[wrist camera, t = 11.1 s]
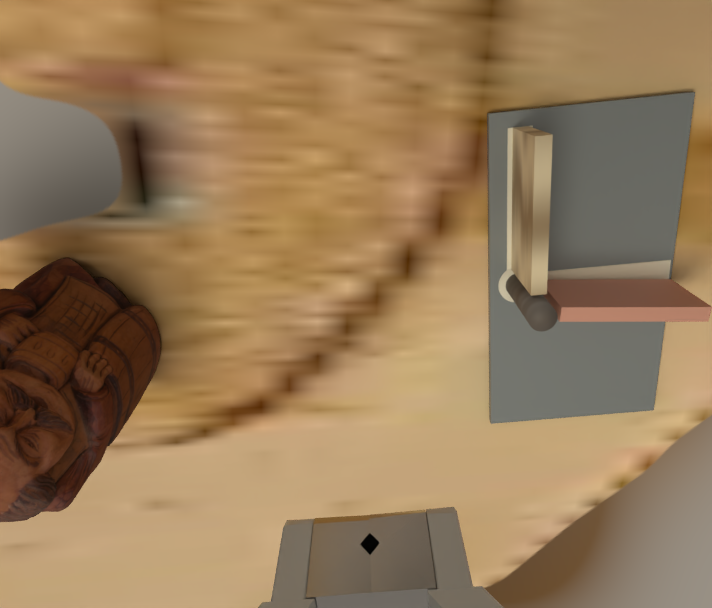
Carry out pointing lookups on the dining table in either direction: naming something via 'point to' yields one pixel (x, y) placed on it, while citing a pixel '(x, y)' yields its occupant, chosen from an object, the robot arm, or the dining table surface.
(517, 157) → the fixed fence panel
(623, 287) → the hinged fence panel
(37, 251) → the dining table surface
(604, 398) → the card
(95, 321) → the wooden figurine
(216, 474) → the dining table surface
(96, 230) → the dining table surface
